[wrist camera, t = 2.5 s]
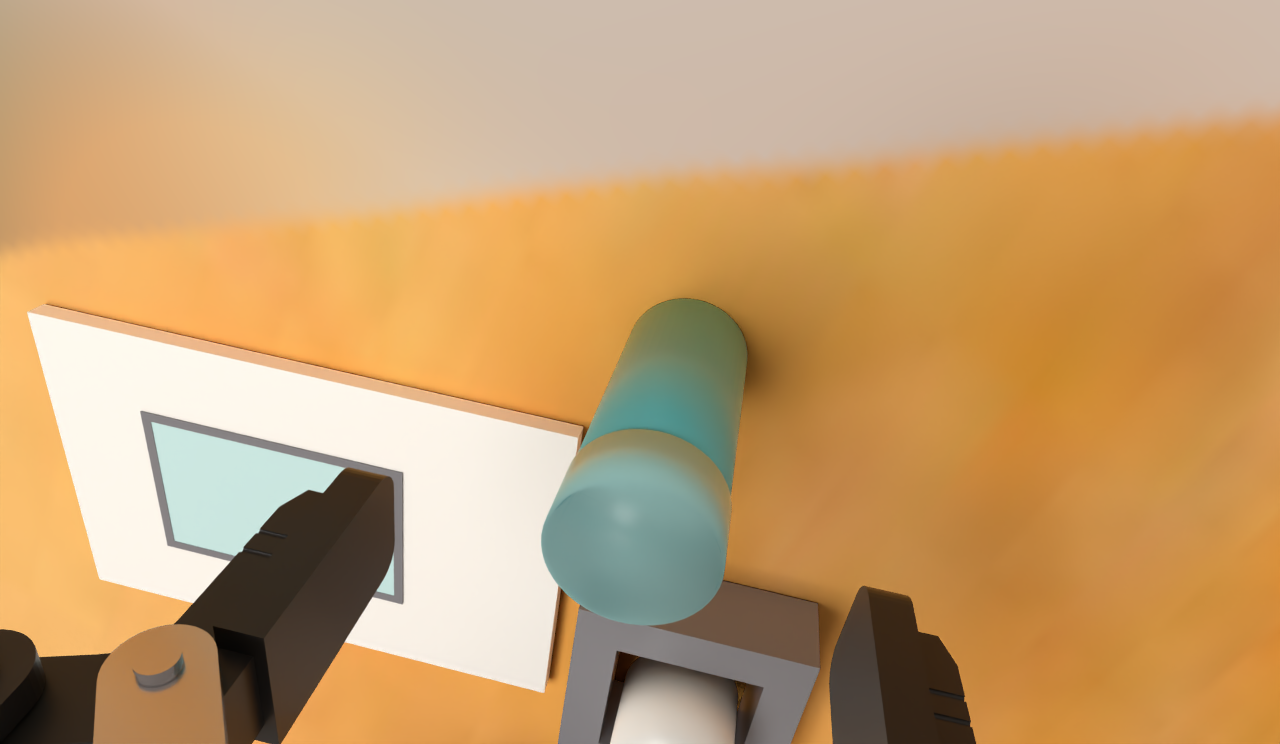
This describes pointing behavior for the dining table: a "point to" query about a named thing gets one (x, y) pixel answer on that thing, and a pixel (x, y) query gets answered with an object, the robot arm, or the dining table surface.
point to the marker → (654, 472)
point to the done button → (675, 706)
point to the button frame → (703, 662)
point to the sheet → (310, 482)
